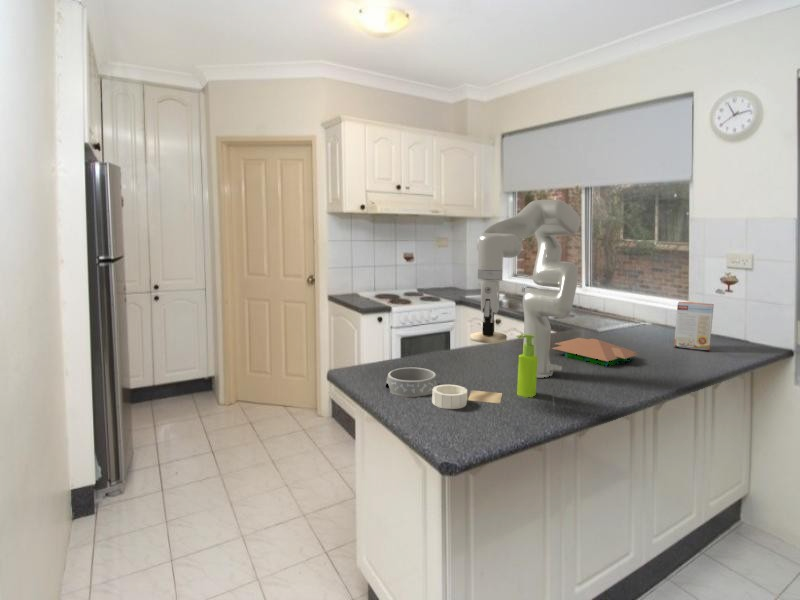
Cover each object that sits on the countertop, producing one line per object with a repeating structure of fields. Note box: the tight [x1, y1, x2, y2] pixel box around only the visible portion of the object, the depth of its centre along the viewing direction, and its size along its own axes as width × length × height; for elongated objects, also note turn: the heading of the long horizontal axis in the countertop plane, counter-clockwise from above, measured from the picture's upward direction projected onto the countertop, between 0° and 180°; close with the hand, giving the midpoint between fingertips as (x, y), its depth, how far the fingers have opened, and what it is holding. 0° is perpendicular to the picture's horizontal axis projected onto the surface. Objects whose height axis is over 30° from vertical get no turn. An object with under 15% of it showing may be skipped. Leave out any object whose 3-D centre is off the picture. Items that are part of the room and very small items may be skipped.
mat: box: [467, 389, 503, 405], centre depth 164 cm, size 10×10×1 cm
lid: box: [469, 318, 508, 344], centre depth 161 cm, size 11×11×6 cm
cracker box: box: [673, 301, 715, 349], centre depth 231 cm, size 14×6×21 cm, turn 58°
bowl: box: [431, 383, 468, 410], centre depth 157 cm, size 10×10×4 cm
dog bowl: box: [384, 366, 439, 398], centre depth 172 cm, size 17×18×5 cm
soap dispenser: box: [516, 333, 538, 398], centre depth 165 cm, size 6×7×20 cm
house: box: [551, 337, 638, 366], centre depth 216 cm, size 23×33×8 cm
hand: (488, 333), depth 161 cm, fingers closed on lid, 3 cm apart
